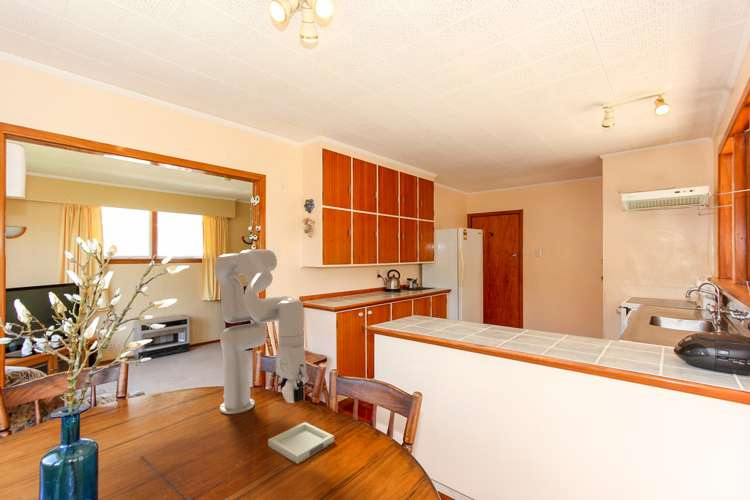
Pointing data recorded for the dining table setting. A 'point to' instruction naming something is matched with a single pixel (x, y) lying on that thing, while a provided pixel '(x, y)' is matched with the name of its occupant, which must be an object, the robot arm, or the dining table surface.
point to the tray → (300, 442)
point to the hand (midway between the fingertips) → (292, 397)
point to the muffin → (289, 391)
